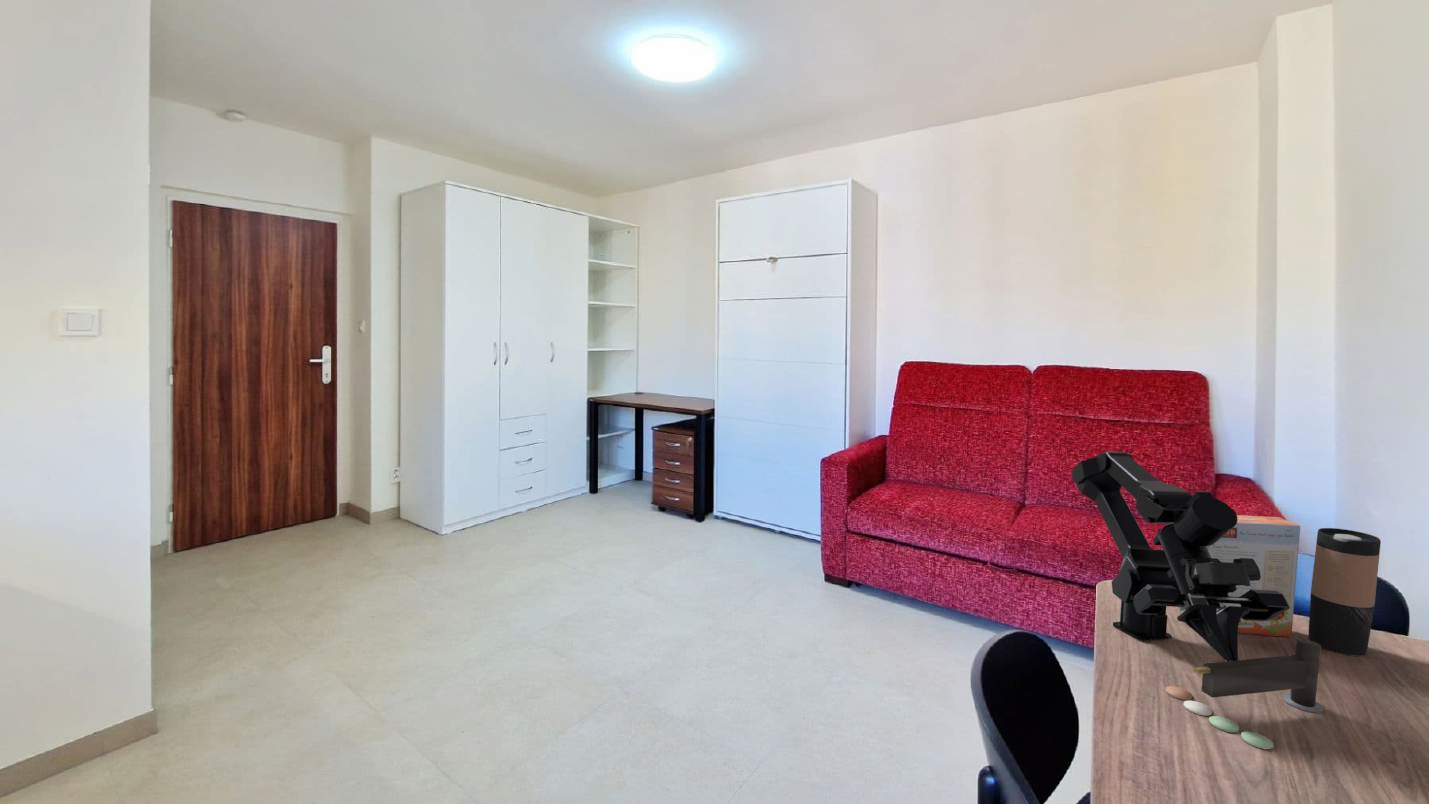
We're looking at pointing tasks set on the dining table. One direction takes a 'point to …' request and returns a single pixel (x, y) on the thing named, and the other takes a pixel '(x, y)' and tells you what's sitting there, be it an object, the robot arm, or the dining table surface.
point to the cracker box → (1264, 564)
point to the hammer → (1267, 675)
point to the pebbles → (1227, 724)
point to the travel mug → (1343, 590)
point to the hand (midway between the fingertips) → (1232, 660)
